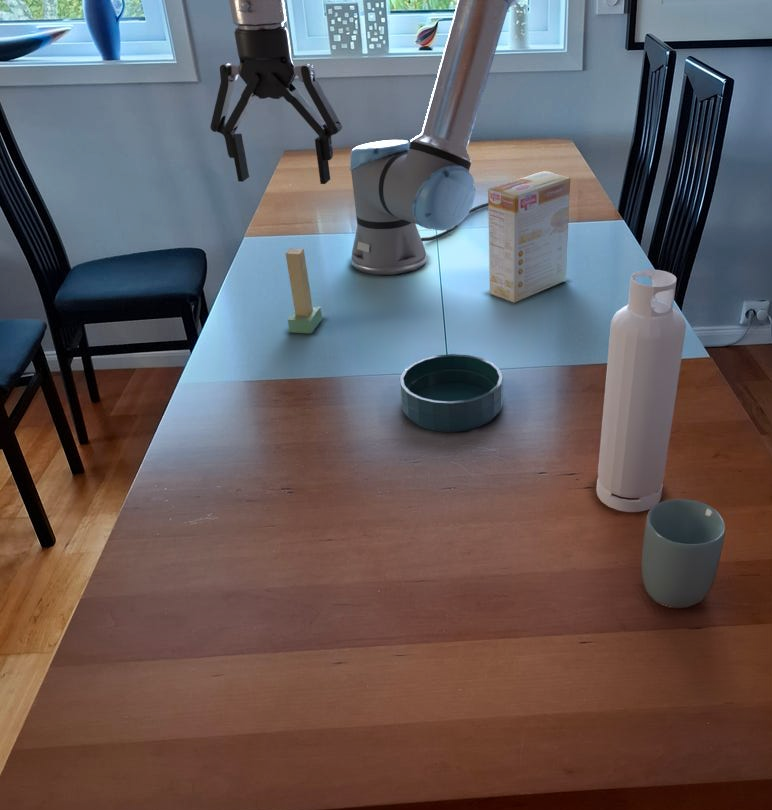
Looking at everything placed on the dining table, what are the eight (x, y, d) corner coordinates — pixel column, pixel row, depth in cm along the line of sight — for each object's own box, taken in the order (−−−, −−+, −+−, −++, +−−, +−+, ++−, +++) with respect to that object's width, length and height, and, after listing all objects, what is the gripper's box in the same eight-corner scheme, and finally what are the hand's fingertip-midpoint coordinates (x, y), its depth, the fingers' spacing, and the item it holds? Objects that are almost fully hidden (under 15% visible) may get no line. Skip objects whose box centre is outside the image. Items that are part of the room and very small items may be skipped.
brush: (301, 318, 146) (289, 244, 138) (322, 319, 145) (311, 245, 137) (289, 332, 141) (276, 257, 133) (311, 333, 141) (300, 258, 132)
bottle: (620, 519, 98) (645, 298, 81) (583, 485, 103) (599, 272, 86) (674, 500, 101) (709, 283, 84) (635, 468, 106) (660, 259, 89)
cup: (629, 572, 90) (638, 500, 84) (697, 567, 90) (711, 495, 84) (646, 622, 84) (658, 548, 78) (720, 616, 84) (737, 543, 78)
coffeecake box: (540, 272, 162) (543, 169, 150) (567, 281, 158) (572, 177, 146) (487, 293, 154) (486, 187, 142) (514, 303, 149) (515, 195, 138)
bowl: (414, 380, 126) (412, 351, 123) (508, 386, 124) (508, 357, 121) (391, 430, 115) (388, 399, 112) (494, 437, 113) (494, 406, 110)
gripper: (166, 29, 114) (200, 184, 127) (336, 29, 111) (353, 189, 124) (189, 22, 120) (220, 171, 133) (351, 22, 117) (366, 176, 130)
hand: (284, 180), depth 128 cm, fingers open, 13 cm apart
